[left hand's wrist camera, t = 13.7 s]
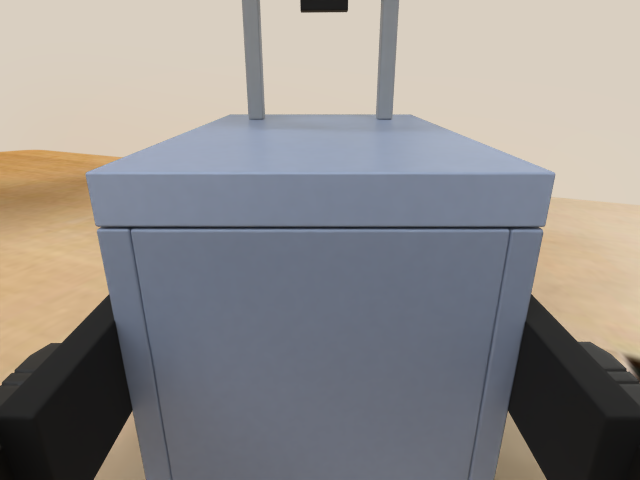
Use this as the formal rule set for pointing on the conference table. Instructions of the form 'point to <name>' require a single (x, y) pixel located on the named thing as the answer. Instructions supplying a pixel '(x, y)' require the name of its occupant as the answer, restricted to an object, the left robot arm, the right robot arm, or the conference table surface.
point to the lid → (320, 167)
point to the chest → (320, 348)
